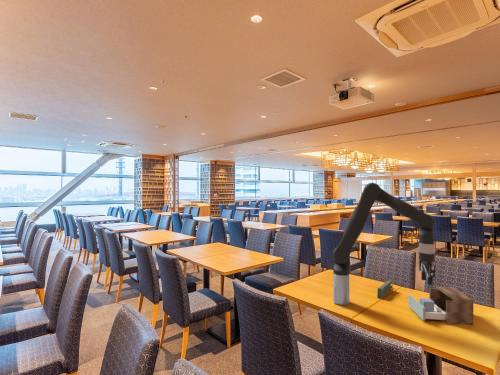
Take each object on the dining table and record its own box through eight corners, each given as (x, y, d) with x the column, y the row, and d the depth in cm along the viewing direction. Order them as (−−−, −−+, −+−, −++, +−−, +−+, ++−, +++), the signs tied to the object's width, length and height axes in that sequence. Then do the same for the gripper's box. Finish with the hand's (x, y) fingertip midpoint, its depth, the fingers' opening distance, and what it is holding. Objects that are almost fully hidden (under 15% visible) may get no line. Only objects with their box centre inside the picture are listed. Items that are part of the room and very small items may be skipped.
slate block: (424, 312, 154) (424, 301, 154) (419, 308, 158) (419, 297, 158) (434, 313, 153) (434, 302, 153) (429, 309, 158) (429, 298, 158)
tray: (423, 320, 147) (423, 307, 147) (408, 305, 166) (408, 294, 166) (448, 322, 145) (448, 309, 145) (430, 306, 164) (430, 295, 164)
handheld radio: (376, 298, 180) (389, 287, 199) (381, 299, 178) (394, 289, 197) (376, 287, 180) (389, 278, 199) (382, 289, 178) (394, 279, 196)
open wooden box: (447, 323, 145) (447, 298, 145) (429, 308, 164) (429, 286, 164) (473, 325, 144) (473, 300, 144) (452, 309, 162) (452, 287, 162)
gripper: (413, 248, 163) (413, 277, 163) (425, 254, 149) (425, 286, 149) (428, 248, 162) (428, 278, 162) (441, 254, 148) (441, 287, 148)
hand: (426, 282), depth 156 cm, fingers open, 7 cm apart
